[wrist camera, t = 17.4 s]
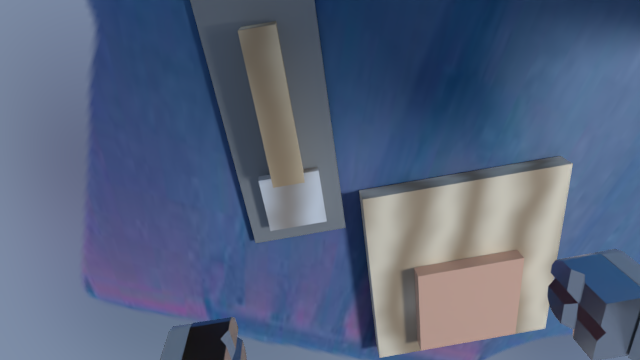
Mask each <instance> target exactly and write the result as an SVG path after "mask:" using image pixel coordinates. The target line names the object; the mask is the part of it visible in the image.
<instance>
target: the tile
mask: <svg viewBox="0 0 640 360" xmlns="http://www.w3.org/2000/svg"><path fill="white" fill-rule="evenodd" d="M523 266H524V257H523V256H522V255H521V253H520V252H519V251H518V250H513V251H507V252H501V253H496V254H490V255H484V256H478V257H473V258H467V259H461V260H455V261H450V262H444V263H438V264H432V265H427V266H421V267H415V268H414V278H415V301H416V324H417V341H418V344H419V347H420V349H421V350H427V349H432V348H438V347H444V346H449V345H455V344H460V343H466V342H472V341H477V340H483V339H489V338H494V337H500V336H506V335H511V334H515V333H516V325H517V316H518V308H519V299H520V291H521V283H522V274H523Z"/></svg>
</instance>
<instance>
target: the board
mask: <svg viewBox="0 0 640 360" xmlns="http://www.w3.org/2000/svg"><path fill="white" fill-rule="evenodd" d="M572 166H573V163H571V162H569V161H568V160H566V159H565V158H563V157H561V156H558V157H552V158H546V159H540V160H534V161H528V162H522V163H517V164H511V165H505V166H499V167H493V168H487V169H481V170H476V171H470V172H464V173H458V174H452V175H446V176H441V177H435V178H429V179H423V180H417V181H411V182H405V183H400V184H394V185H388V186H382V187H376V188H370V189H364V190H359V195H360V204H361V213H362V221H363V230H364V239H365V248H366V257H367V266H368V275H369V284H370V293H371V301H372V310H373V319H374V328H375V337H376V345H377V349H378V353H379V357H380V358H381V357H387V356H392V355H398V354H404V353H409V352H415V351H421V349H420V347H419V344H418V341H417V324H416V301H415V278H414V268H415V267H421V266H427V265H432V264H438V263H444V262H450V261H455V260H461V259H467V258H473V257H478V256H484V255H490V254H496V253H501V252H507V251H513V250H518V251H519V252H520V253H521V255H522V256H523V257H524V266H523V274H522V283H521V291H520V299H519V308H518V316H517V325H516V333H522V332H528V331H533V330H539V329H545V327H546V321H547V315H548V309H549V301H548V297H547V294H548V286H549V285H550V284H551V283H552V281H553V279H554V276H553V275H552V274H551V267H552V264H553V263H554V261H555V260H557V255H558V249H559V243H560V237H561V231H562V225H563V219H564V213H565V207H566V201H567V195H568V189H569V183H570V177H571V172H572ZM516 333H515V334H516Z"/></svg>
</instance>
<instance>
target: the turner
mask: <svg viewBox="0 0 640 360" xmlns="http://www.w3.org/2000/svg"><path fill="white" fill-rule="evenodd" d="M238 35H239V39H240V44H241V48H242V52H243V57H244V61H245V66H246V70H247V75H248V79H249V83H250V88H251V92H252V97H253V101H254V105H255V110H256V114H257V119H258V123H259V128H260V132H261V136H262V141H263V145H264V150H265V154H266V159H267V163H268V167H269V172H270V175H265V176H259V180H258V181H259V186H260V190H261V194H262V198H263V202H264V206H265V210H266V214H267V218H268V222H269V227H270V231H274V230H280V229H286V228H291V227H297V226H303V225H309V224H315V223H321V222H326V221H327V219H326V213H325V207H324V201H323V195H322V188H321V182H320V176H319V170H318V167H312V168H306V169H303V166H302V160H301V155H300V149H299V144H298V138H297V133H296V127H295V122H294V116H293V111H292V105H291V100H290V94H289V89H288V83H287V78H286V72H285V67H284V61H283V56H282V50H281V45H280V39H279V34H278V28H277V23H276V21H273V22H267V23H261V24H255V25H249V26H243V27H240V28H239V30H238Z"/></svg>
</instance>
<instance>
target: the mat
mask: <svg viewBox="0 0 640 360" xmlns="http://www.w3.org/2000/svg"><path fill="white" fill-rule="evenodd" d="M190 2H191V5H192V9H193V13H194V17H195V20H196V24H197V28H198V31H199V35H200V39H201V42H202V46H203V50H204V54H205V57H206V61H207V65H208V68H209V72H210V76H211V80H212V83H213V87H214V91H215V94H216V98H217V102H218V105H219V109H220V113H221V117H222V120H223V124H224V128H225V131H226V135H227V139H228V143H229V146H230V150H231V154H232V157H233V161H234V165H235V168H236V172H237V176H238V180H239V183H240V187H241V191H242V194H243V198H244V202H245V206H246V209H247V213H248V217H249V220H250V224H251V228H252V231H253V235H254V239H255V243H259V242H265V241H271V240H277V239H283V238H288V237H294V236H300V235H306V234H312V233H317V232H323V231H329V230H335V229H341V228H346V227H345V219H344V212H343V205H342V198H341V190H340V183H339V176H338V168H337V161H336V154H335V147H334V139H333V132H332V125H331V117H330V110H329V103H328V96H327V88H326V81H325V74H324V66H323V59H322V52H321V45H320V37H319V30H318V23H317V15H316V8H315V1H314V0H190ZM273 21H276V23H277V28H278V34H279V39H280V45H281V50H282V56H283V61H284V67H285V72H286V78H287V83H288V89H289V94H290V100H291V105H292V111H293V116H294V122H295V127H296V133H297V138H298V144H299V149H300V155H301V160H302V166H303V169H306V168H312V167H318V170H319V176H320V182H321V188H322V195H323V201H324V207H325V213H326V219H327V221H326V222H321V223H315V224H309V225H303V226H297V227H291V228H286V229H280V230H274V231H270V227H269V222H268V218H267V214H266V210H265V206H264V202H263V198H262V194H261V190H260V186H259V181H258V180H259V176H265V175H270V172H269V167H268V163H267V159H266V154H265V150H264V145H263V141H262V136H261V132H260V128H259V123H258V119H257V114H256V110H255V105H254V101H253V97H252V92H251V88H250V83H249V79H248V75H247V70H246V66H245V61H244V57H243V52H242V48H241V44H240V39H239V35H238V30H239V28H240V27H243V26H249V25H255V24H261V23H267V22H273Z"/></svg>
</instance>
